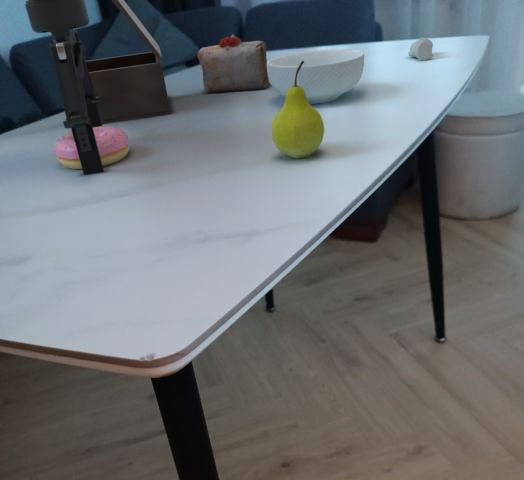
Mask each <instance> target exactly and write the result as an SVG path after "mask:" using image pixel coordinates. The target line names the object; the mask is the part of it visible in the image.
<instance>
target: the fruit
mask: <svg viewBox="0 0 524 480" xmlns="http://www.w3.org/2000/svg"><path fill="white" fill-rule="evenodd" d="M303 63H304V61H302V62H301V64H300V65H299V67H298V69H297V72H296V76H295V83H294V86H292V87H290V88H289V89H288V91H287V93H286V96H284V97H285V98H284V103H283V106H282V108H281V109H279V111H278V112H276V113H275V115H274V117H273V118H272V121H271V127H270V129H271V130H270V131H271V138H272V140H273V141H272V142H273V144H274V146H275V148H276V149H277V150H278V151H279V152H280V153H281V154H284V155H286V156H288V157H290V158H292V159H305V158H308V157H310V156H311V155H313V153H315V152H316V151H317V150H318V148H319V147H321V146H320V145H321V144H322V142H323V139H324V133H325V125H324V121H323V118H322V115H321V114H320V113H319V111H318V110H317V109H316V108H315V107H314V106H312V104H309V103H308V100H307V98H306V94H305V91H304V89H303V88H302V87H301V86H297V81H296V80H297V74H298V72H299V70H300V69H301V66H302V65H303Z"/></svg>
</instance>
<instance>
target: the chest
mask: <svg viewBox="0 0 524 480" xmlns="http://www.w3.org/2000/svg"><path fill="white" fill-rule="evenodd" d="M86 63H87V68H88V71H89V75H90V78H91V81H92V85H93V88H94V89H95V94H99V96H100V101H97V102H93V103H97V107H98V111H99V115H100V119H101V123H102V125H107V124H111V123H118V122H125V121H132V120H138V119H145V118H153V117H158V116H160V117H161V116H166V115H171V114H172V113H171V107H170V103H169V96H168V91H167V86H166V80H165V74H164V69H163V63H162V59H161V60H160V61H159V60H158V59H157V58H156V57H155V55H154V54H153V53H152V51H148V52H139V53H133V54H126V55H118V56H111V57H104V58H97V59H90V60H86Z"/></svg>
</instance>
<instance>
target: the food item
mask: <svg viewBox="0 0 524 480" xmlns="http://www.w3.org/2000/svg"><path fill="white" fill-rule="evenodd" d="M197 58H198V62H199V65H200V67H201V71H202V83H203V88H204V92H205V94H217V93H218V94H219V93H225V92H227V93H228V92H240V91H255V90H265V89H267V88H269V85H270V81H269V78H268V73H267V62H268V59H267V44H266V42H265V41H263V40H253V41H242V39H241V38H240V37H237V36H235V34H234V33H232V34H231V35H230V37H228V35H226V36H225V37H223V38H221V39H220V42H219V43H218V44H216V45H210V46H206V47H203V46H202V47H201V48H200V49H199V51H197Z"/></svg>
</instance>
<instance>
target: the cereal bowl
mask: <svg viewBox="0 0 524 480" xmlns="http://www.w3.org/2000/svg"><path fill="white" fill-rule="evenodd" d="M302 61H304V63H303V65H302V66H301V69H300V70H299V72H298V74H297V80H296V81H297V86H301V87H302V88H303V89H304V91H305V94H306V98H307V100H308V103H309V104H310V105H315V104H316V105H317V104H324V103H328V102H333V101H335V100H337V99H339V98H340V96H341V95H343V94H346V93H347V92H349V91H350V90H352V89H354V87H356V85H357V84H358V83H359V81H360V80H361V78H362V76H363V72H364V67H365V54H364V52H363V51H361V50H359V49H350V48H331V49H329V48H328V49H318V50H308V51H301V52H295V53H290V54H285V55H282V56H278V57H274V58H272V59H270V60H267V73H268V78H269V85H270V86H271V87H272V88H273V90H274V91H275V92H276V93H278V94H279V95H281V96H283V97H285V96H286V93H287V91H288V89H289V88H290V87H292V86H294V83H295V76H296V72H297V69H298V67H299V65H300V64H301V62H302Z"/></svg>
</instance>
